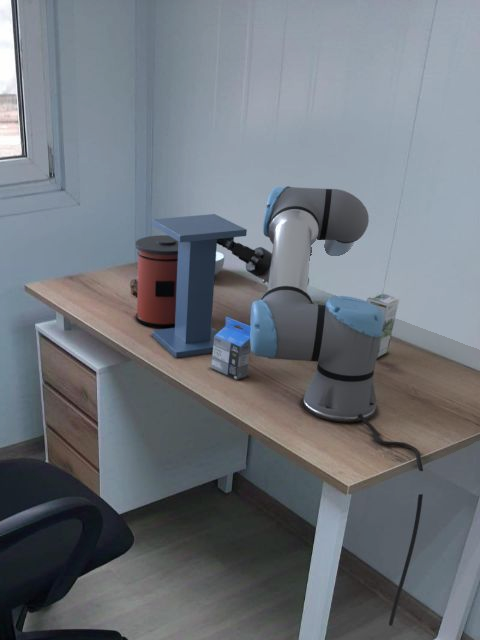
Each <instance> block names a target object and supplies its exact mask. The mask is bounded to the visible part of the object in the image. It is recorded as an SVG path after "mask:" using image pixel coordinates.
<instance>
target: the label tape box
mask: <svg viewBox="0 0 480 640" xmlns="http://www.w3.org/2000/svg"><path fill="white" fill-rule="evenodd" d="M237 326H238V327H239V328H237ZM250 330H251V329H250V325H248V324H246V323H243V322H241V321H238V320H236V319H234V318H232V317H231V318H230V317H228V316H225V326H224V327H223V328H222V329H220V330H219V331H217V332H218V333H217V334H216V335H215V336H214V345H213V353H212V356H211V367H210V368H211V369H212V370H215V371H216V372H219V373H220V374H223V375H226V376H228V377H230V378H233V379H234V380H241V379H244V378H247V377H248V371H249V364H250V363H249V361H250V354H251V344H250Z"/></svg>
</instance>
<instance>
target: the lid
mask: <svg viewBox="0 0 480 640" xmlns="http://www.w3.org/2000/svg"><path fill="white" fill-rule="evenodd" d="M230 240H233V241H234V242H235V237H231V238H230ZM135 249H137V251H138V250H139V251H142V252H145V253H149V254H156V255H178V241H177V240H175V239H173V238H172V237H170V236H169V235H167V234H165V235H163V234H162V235H161V234H160V235H149V236H145V237H142V238H139V239H137V240H136V241H135Z"/></svg>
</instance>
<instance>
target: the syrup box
mask: <svg viewBox="0 0 480 640" xmlns="http://www.w3.org/2000/svg"><path fill="white" fill-rule="evenodd" d="M366 301H367V302H369V303H371V304H373V305H375V306H377V307H378V308H379V309H380V310H381V311H382V313H383V317H384V320H383V328H382V332H383V334H382V336H381V338H380V343H379V348H378V353H377V358H376V360H377V359H378V358H381V357H382V356H384V355H386V354H388V351H389V347H390V343H391V339H392V334H393V330H394V326H395V321H396V315H397V311H398V308H399V307H398V306H399V302H400V298H398V297H395V296H393V295H390V294H386V293H376V294H374V295H372V296H370V297H367V298H366Z"/></svg>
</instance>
